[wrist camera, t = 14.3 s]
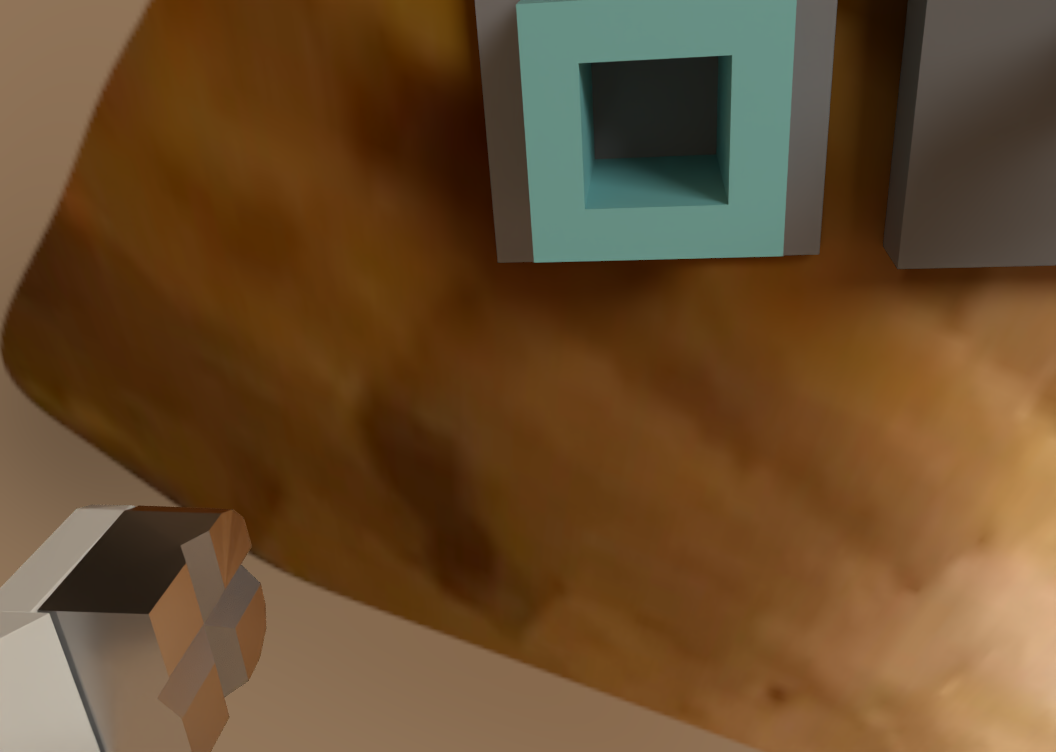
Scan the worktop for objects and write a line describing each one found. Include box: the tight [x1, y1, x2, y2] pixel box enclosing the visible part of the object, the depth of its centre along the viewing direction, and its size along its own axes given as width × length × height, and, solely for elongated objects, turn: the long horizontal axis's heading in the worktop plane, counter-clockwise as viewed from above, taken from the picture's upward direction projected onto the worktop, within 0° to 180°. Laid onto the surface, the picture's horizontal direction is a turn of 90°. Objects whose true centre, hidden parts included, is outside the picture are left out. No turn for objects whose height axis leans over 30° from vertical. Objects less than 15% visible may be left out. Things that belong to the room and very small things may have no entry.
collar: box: [516, 0, 797, 263], centre depth 26 cm, size 6×6×5 cm
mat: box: [475, 0, 837, 263], centre depth 28 cm, size 10×10×1 cm
